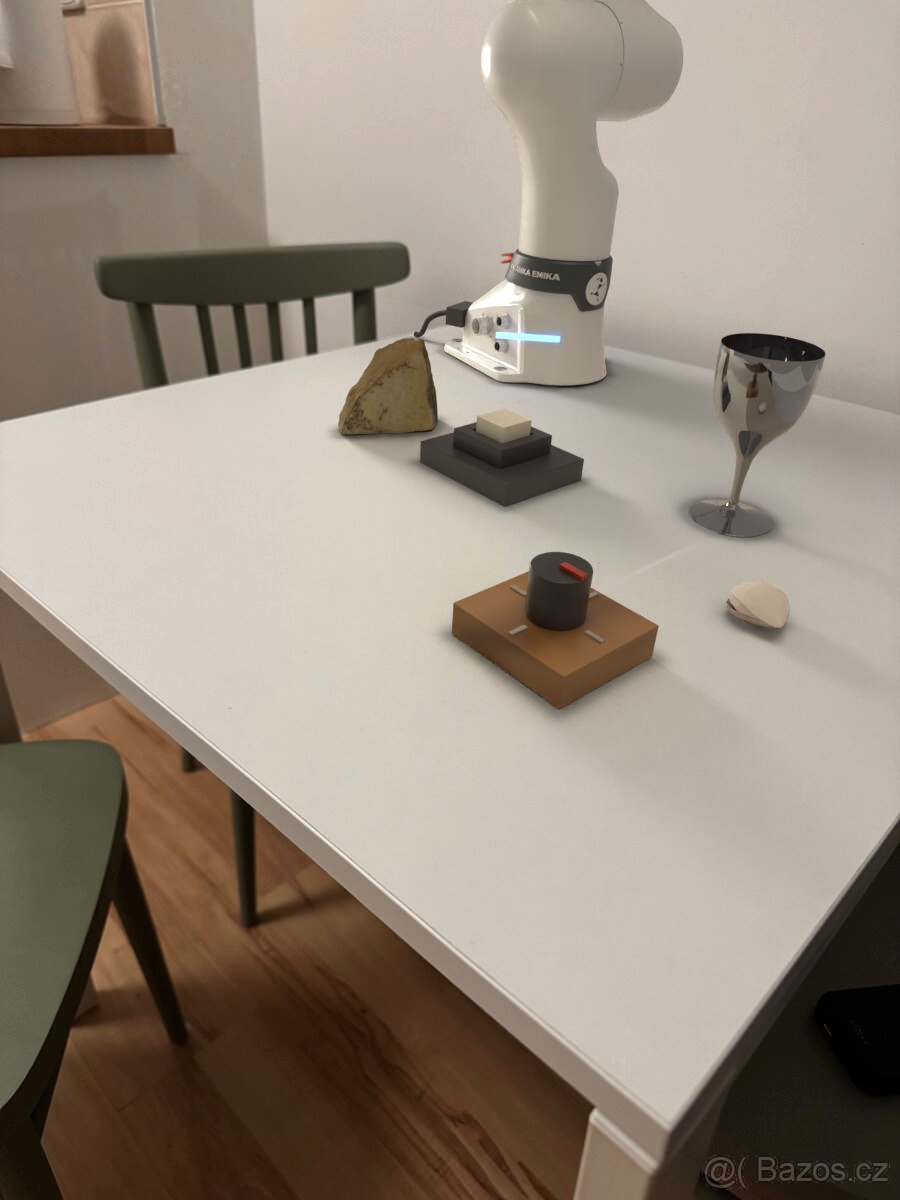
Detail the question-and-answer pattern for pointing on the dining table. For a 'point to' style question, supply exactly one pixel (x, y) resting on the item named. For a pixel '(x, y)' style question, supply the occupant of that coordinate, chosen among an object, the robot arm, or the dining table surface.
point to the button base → (502, 463)
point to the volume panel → (553, 641)
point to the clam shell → (759, 604)
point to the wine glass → (756, 413)
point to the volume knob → (558, 590)
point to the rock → (393, 393)
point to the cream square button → (503, 425)
